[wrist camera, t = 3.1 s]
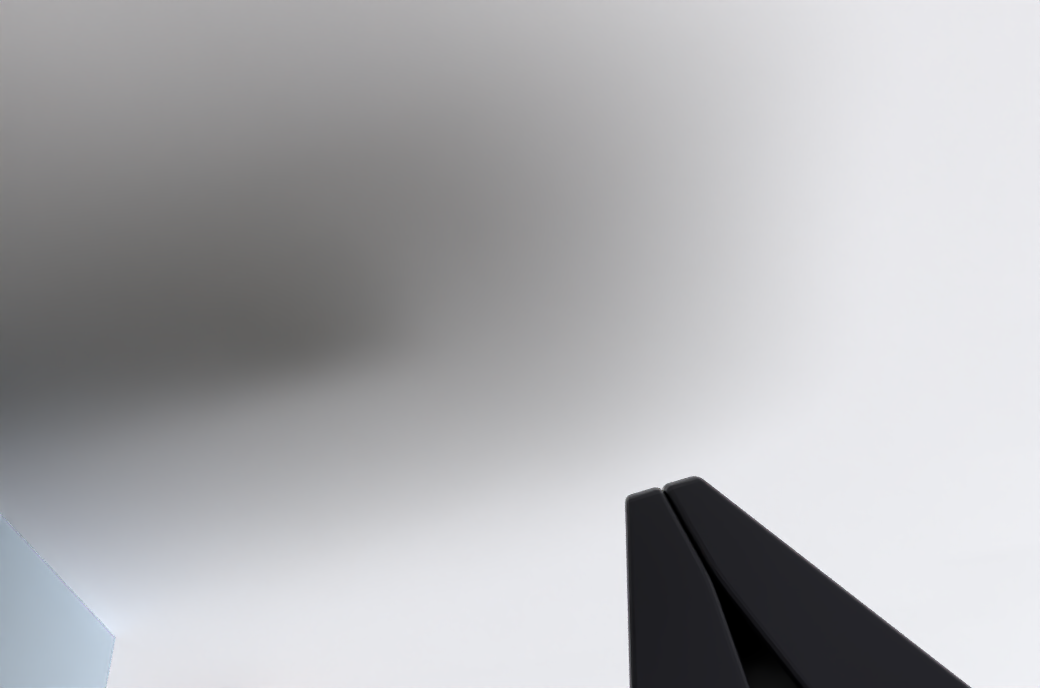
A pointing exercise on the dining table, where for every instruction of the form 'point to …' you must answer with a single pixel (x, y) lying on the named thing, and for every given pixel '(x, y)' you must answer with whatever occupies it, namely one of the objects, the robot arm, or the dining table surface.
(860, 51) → the dining table surface
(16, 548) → the carriage
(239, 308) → the dining table surface
